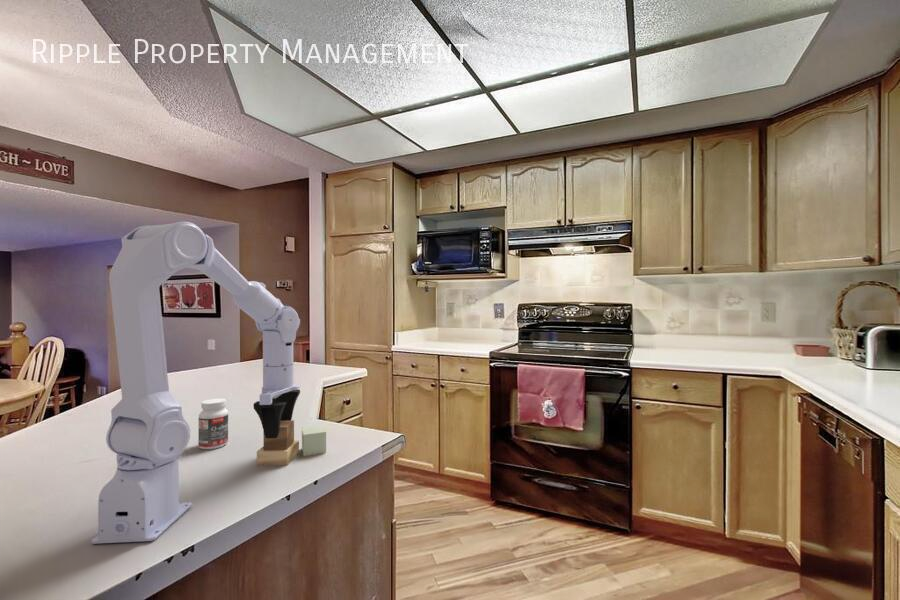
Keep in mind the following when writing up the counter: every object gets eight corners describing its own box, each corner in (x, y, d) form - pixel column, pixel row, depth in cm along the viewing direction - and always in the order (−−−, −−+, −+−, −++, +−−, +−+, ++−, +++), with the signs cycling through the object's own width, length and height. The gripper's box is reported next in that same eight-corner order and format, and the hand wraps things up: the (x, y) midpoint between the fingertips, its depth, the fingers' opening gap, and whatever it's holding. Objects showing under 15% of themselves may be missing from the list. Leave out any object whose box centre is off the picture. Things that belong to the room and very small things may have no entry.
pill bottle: (214, 451, 86) (214, 404, 86) (192, 449, 87) (191, 403, 87) (234, 441, 91) (234, 398, 91) (212, 440, 92) (212, 397, 92)
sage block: (326, 453, 85) (326, 431, 85) (303, 456, 83) (303, 434, 83) (323, 446, 89) (323, 425, 89) (301, 449, 87) (301, 428, 87)
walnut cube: (287, 449, 79) (286, 427, 79) (263, 450, 79) (263, 427, 79) (294, 441, 84) (293, 420, 84) (271, 442, 83) (271, 420, 83)
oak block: (287, 466, 78) (287, 451, 78) (256, 466, 78) (256, 451, 78) (298, 454, 84) (298, 440, 84) (270, 455, 84) (270, 440, 84)
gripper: (287, 370, 74) (287, 443, 74) (308, 358, 89) (308, 420, 89) (247, 371, 74) (247, 444, 74) (275, 359, 88) (275, 420, 88)
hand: (278, 431), depth 81 cm, fingers open, 7 cm apart
